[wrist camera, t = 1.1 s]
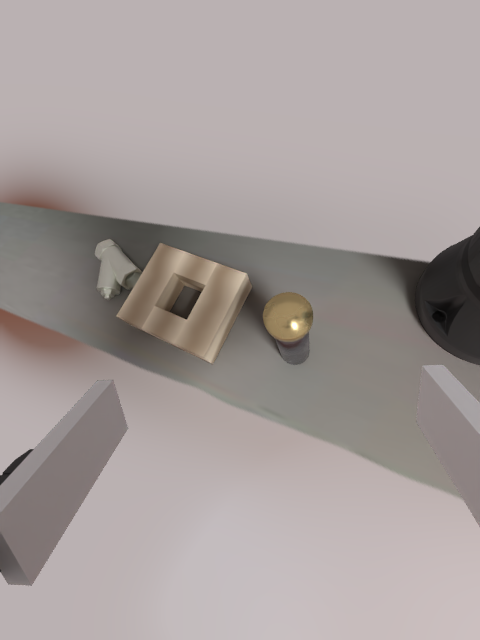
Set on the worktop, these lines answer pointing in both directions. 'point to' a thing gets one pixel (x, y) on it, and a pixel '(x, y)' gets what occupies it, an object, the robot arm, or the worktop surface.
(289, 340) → the gold-capped peg
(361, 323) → the worktop surface
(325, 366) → the worktop surface
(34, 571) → the robot arm
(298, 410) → the worktop surface
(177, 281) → the socket block
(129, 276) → the pipe fitting
